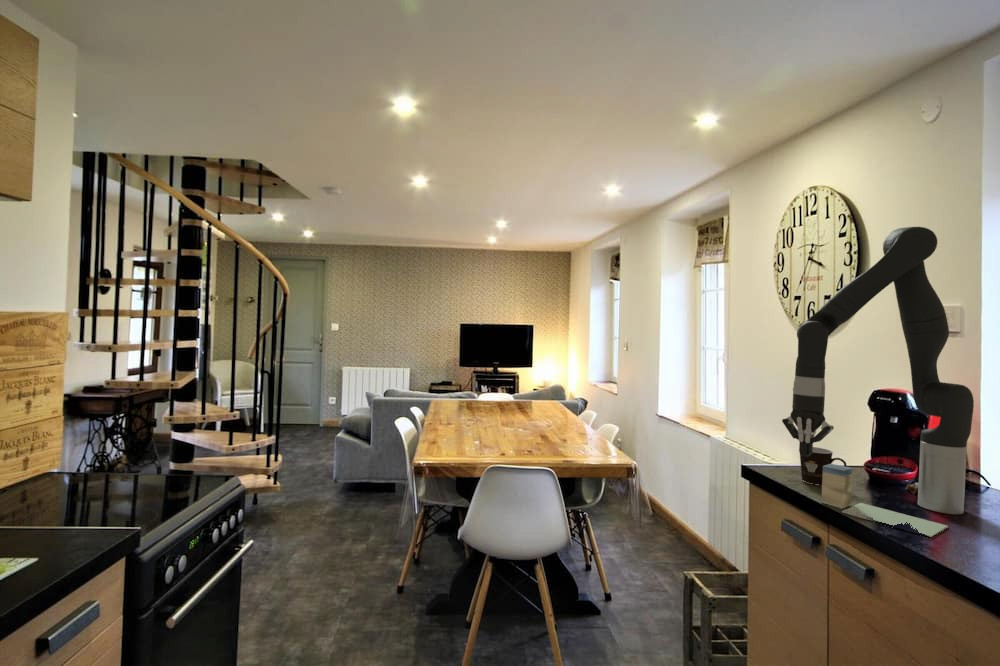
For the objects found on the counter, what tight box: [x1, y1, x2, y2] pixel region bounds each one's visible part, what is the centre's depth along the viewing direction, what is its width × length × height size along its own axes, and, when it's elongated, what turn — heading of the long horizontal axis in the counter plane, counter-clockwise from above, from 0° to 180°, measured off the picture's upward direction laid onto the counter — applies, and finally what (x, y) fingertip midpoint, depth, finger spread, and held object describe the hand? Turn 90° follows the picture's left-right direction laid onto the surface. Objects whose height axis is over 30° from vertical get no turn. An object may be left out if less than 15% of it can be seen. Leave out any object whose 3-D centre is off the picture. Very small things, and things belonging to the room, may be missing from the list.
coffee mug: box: [799, 446, 848, 485], centre depth 153 cm, size 12×9×10 cm
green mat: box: [850, 502, 949, 538], centre depth 125 cm, size 12×18×1 cm, turn 35°
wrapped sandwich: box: [905, 482, 919, 495], centre depth 146 cm, size 7×12×4 cm, turn 45°
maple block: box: [820, 463, 853, 507], centre depth 135 cm, size 5×5×10 cm
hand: (805, 455), depth 141 cm, fingers closed
